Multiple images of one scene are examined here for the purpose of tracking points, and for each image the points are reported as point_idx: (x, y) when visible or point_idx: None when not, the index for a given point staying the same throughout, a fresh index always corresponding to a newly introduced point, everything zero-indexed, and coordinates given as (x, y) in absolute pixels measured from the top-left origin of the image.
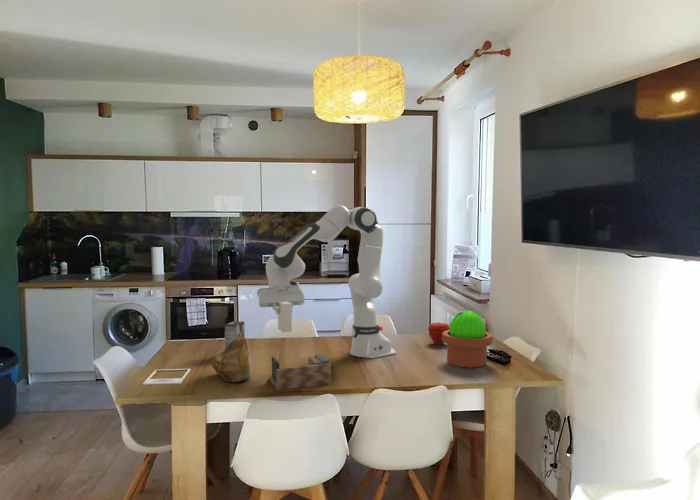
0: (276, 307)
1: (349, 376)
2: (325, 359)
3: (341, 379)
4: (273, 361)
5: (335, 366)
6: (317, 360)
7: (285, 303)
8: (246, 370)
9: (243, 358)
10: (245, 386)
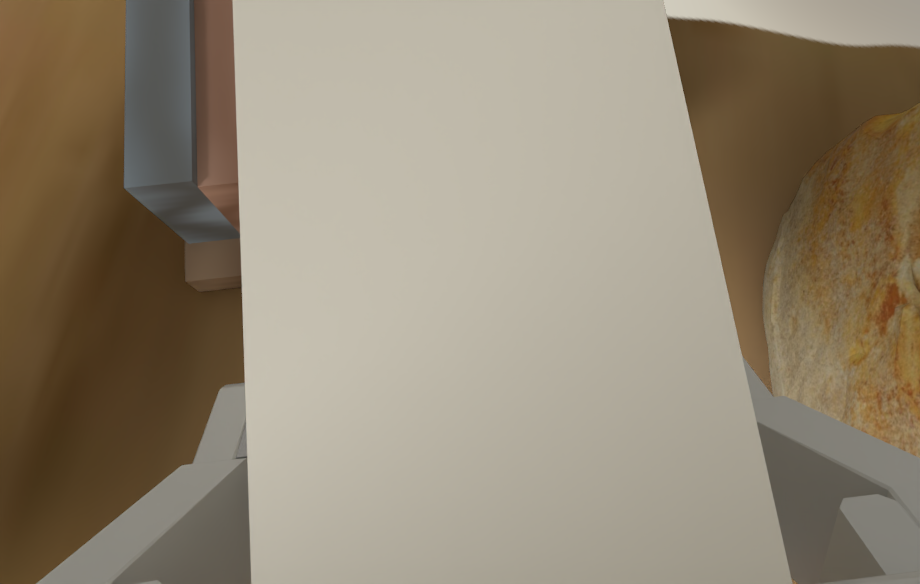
0: (790, 430)
1: (11, 172)
2: (146, 12)
3: (94, 124)
4: None
5: (11, 450)
6: (216, 48)
7: (476, 43)
8: (824, 167)
9: (915, 106)
10: (780, 140)
